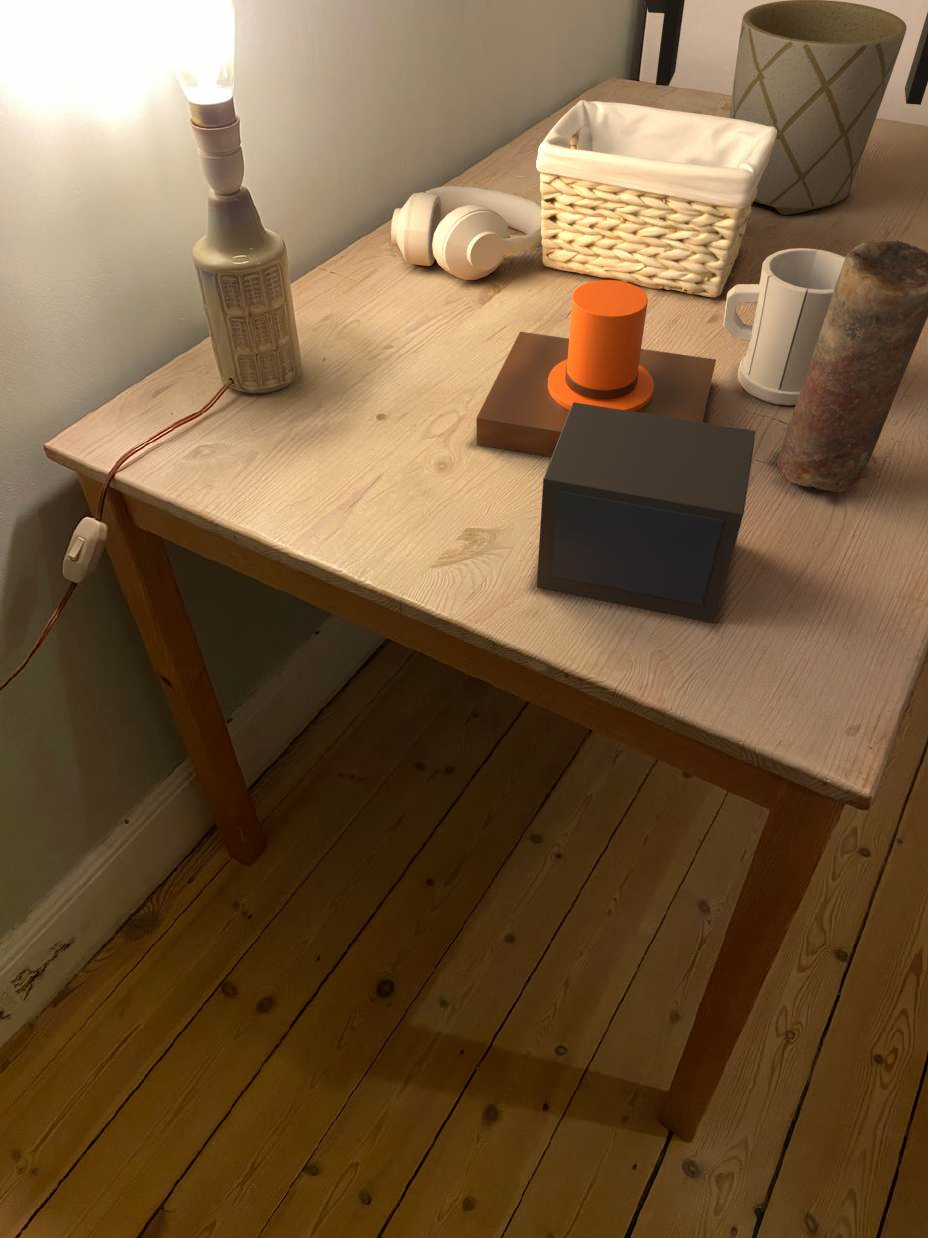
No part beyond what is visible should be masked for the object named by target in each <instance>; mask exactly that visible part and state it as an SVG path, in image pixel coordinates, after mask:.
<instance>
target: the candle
mask: <svg viewBox="0 0 928 1238" xmlns="http://www.w3.org/2000/svg"><path fill="white" fill-rule="evenodd" d="M927 321H928V251H926V250H925V249H921V248H920V247H917V246H915V245H911V244H909V243H907V242H903V241H900V240H878V241H875V240H870V241H866V242H862V243H861V244H858V245H857V246H855V247H854V248H853V249H852V250H850V251H849V252H848V253H847V254H846V255H845V260H844V263H843V265H842V269H841V272H840V275H839V278H838V280H837V282H836V285H835V289H834V292H833V295H832V298H831V301H830V304H829V307H828V311H827V314H826V316H825V319H824V322H823V325H822V328H821V332H820V335H819V338H818V341H817V344H816V346H815V349H814V352H813V355H812V358H811V362H810V365H809V368H808V371H807V374H806V377H805V380H804V383H803V386H802V389H801V391H800V394H799V397H798V401H797V403H796V405H794V408H793V412H792V415H791V419H790V421H789V424H788V426H787V429H786V433H785V436H784V439H783V442H782V444H781V448H780V452H779V455H778V457H777V460H776V463H777V466H778V469H779V472H780V474H781V476H782V477H783V478H785V479H786V480H788V481H789V482H790V483H792V484H793V483H794V484H797V485H798V486H801V487H808V488H809V487H813V488H815V489H816V490H817V491H826V492H829V493H831V492H833V493H840V492H844V491H846V490H850V489H852V488H854V486H856V484H858V483H859V482H860V481H861V480H862V478H863V477H864V475H865V473H866V470H867V467H868V465H869V462H870V460H871V459H872V458H871V457H872V456H873V453H874V450H875V448H876V447H877V443H878V441H879V439H880V436H881V433H882V431H883V428H884V426H885V424H886V421H887V419H888V416H889V414H890V411H891V408H892V406H893V404H894V401H895V398H896V396H897V393H898V391H899V389H900V386H901V383H902V381H903V379H904V375H905V373H906V371H907V369H908V367H909V364H910V361H911V358H912V357H913V354H914V352H915V349H916V347H917V345H918V343H919V340H920V336H921V334H922V332H923V329H924V327H925V324H926V322H927Z"/></svg>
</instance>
